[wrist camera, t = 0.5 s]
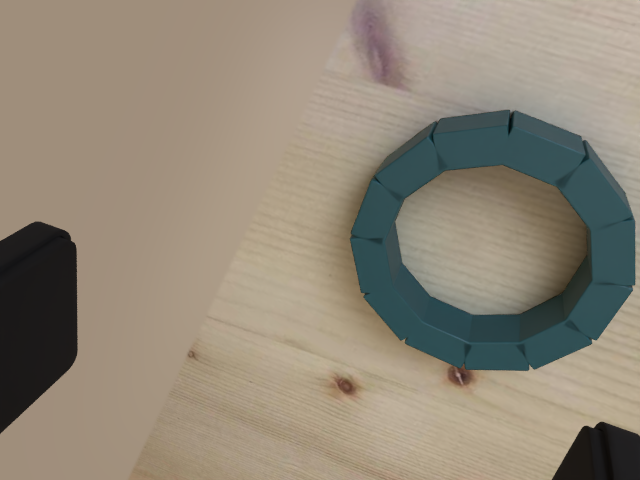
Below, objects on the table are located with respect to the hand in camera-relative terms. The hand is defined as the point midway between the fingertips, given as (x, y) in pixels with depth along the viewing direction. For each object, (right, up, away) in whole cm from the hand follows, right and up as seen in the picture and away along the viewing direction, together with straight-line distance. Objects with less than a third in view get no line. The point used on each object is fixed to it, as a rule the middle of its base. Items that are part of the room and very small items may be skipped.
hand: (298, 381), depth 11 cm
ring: (+8, +3, +17) cm, 19 cm away
